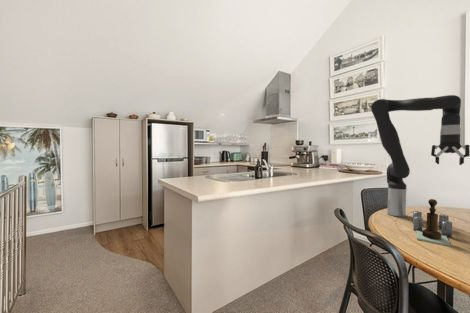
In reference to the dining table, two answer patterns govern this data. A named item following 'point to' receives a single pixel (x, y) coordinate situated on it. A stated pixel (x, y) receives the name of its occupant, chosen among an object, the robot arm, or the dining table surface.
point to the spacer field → (443, 223)
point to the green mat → (442, 241)
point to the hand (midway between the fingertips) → (449, 164)
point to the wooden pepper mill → (432, 223)
